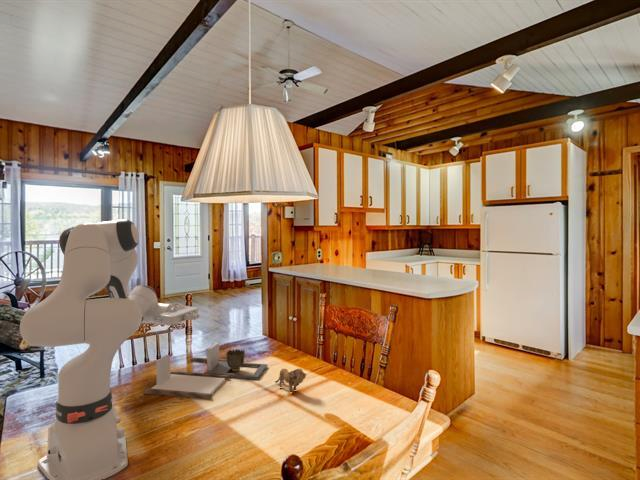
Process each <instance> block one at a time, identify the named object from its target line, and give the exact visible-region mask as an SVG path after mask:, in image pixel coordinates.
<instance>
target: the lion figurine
mask: <svg viewBox="0 0 640 480" xmlns="http://www.w3.org/2000/svg"><path fill="white" fill-rule="evenodd" d="M305 378H307V373H305V372H304V371H303V369H302V368H296V369H293V370H291V371H288V369H287V368H281V370H280V371H279V377H278V379H277V380H275V381H274V383H276V384H277V383H278V382H279V386H280V387H282V388H283V386H282V383H284V381H285V383H287V384H288V388H289V389H288V390H289V391H288V392H293V391H294V390H297V387H298V386H299V385H300V384H301V383H302V382H304V380H306V379H305ZM279 386H278V387H279Z"/></svg>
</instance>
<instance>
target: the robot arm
mask: <svg viewBox="0 0 640 480" xmlns="http://www.w3.org/2000/svg"><path fill="white" fill-rule="evenodd" d="M139 238H140V233H139V230H138V228H137V226H136V224H135V223H134V222H133V221H131V220H130V219H123V218H122V219H117V220H108V221H107V220H106V221H100V222H96V221H95V222H84V223H83V222H82V223H79V224H77V225H75V226H72V227H69V228H66V229H65V230H63V231H62V232H61V234H60V235H59V239H58V240H59V241H58V243H59V247H60V250H61V252H62V254H63V266H62V272H61V276H60V280H59V283H58V284H57V286H56V287H55V289H54V290H53V291H52V292H51V293H50V294H49V295H48V296H47V297H46V298H44V299H43V300H42V301H39V302H38V303H37V304H35V305H33V306H31V307H29V308H28V309H27V310H26V312H25V313H24V314H23V316H22V317H21V320H20V323H19V333H20V334H19V335H20V336H21V337H22V338H21V339H22V340H23V341H24V342H25V343H26V344H27V345H29V346H30V347H40V348H41V347H43V348H57V347H64V346H73V345H82V344H87V345H88V348H87V349H86V350H85V351H83V352H82V353H80V354H79V355H77V356H75V357H73V358H71V359H70V360H68V361H66V363H64V364H63V366H61V368H60V370H59V371H58V372H59V373H58V377H57V378H58V387H57V388H58V392H57V395H58V397H57V398H58V399H57V400H56V403H55V410H54V411H55V420H53V423H51V424H50V426H49V427H48V430H47V431H48V432H47V451H46V455H45V456H42V457H41V458H39V460H38V462H37V467H38V469H39V470H40V471H41V472H42V473H43V475H44V476H45V477H46V478H47V480H48V479H49V480H102V479H103V480H106V479H107V478H109V477H112V476H113V475H116V474H117V473H119V472H121V471H122V470H124V469H125V468H126V467H127V466H128V464H129V462H128V461H129V460H128V450H127V441H126V440H127V438H126V433H125V427H120V428H117V424H120V423H121V417H117V408H115V407H114V406H113V395H112V393H113V392H112V389H111V374H112V365H113V361H114V358H115V356H116V354H117V352H118V350H119V349H120V348H121V346H122V345H123V344H124V343H125V342H126V341H127V340H128V339H129V338H130V337H132V336H133V335H135V334H136V332H137V331H138V329H139V328H140V326H141V325H142V323H143V324H155V325H161V326H176V325H179V324H181V323H183V322H185V321H191V320H193V321H197V320H198V319H200V314H199V308H198V307H196V306H191V305H182V304H181V303H165V302H158V301H159V300H158V296H157V293H156V290H155V289H154V288H153V287H152V286H149V285H146V284H139V285H136V286H134V287H133V288H132V290H131V291H130V292H129V294H128V285H129V283H130V280H131V278H132V276H133V274H134V272H135V270H136V268H137V266H138V263H139V257H138V252H137V250H136V248H137V246H138V245H139ZM105 288H106V292H107V295H108V297H107V298H106V297H105V298H93V299H92V298H89V297H90V296H92V295H95V294H96V293H99V292H101V291H102V290H104V289H105ZM87 298H89V299H87Z"/></svg>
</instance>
